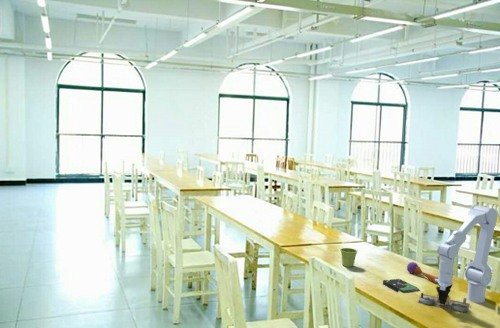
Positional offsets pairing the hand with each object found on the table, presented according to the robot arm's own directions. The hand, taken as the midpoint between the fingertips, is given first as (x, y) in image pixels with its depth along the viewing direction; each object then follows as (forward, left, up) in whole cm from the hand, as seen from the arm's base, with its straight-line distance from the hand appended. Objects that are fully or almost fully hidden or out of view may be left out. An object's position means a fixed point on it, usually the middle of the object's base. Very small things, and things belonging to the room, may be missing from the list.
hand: (443, 301), depth 203 cm
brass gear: (0, 0, 0) cm, 0 cm away
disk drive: (-14, -21, -4) cm, 25 cm away
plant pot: (-34, -53, -3) cm, 63 cm away
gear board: (-3, 0, -3) cm, 4 cm away
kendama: (-39, -15, -3) cm, 42 cm away
